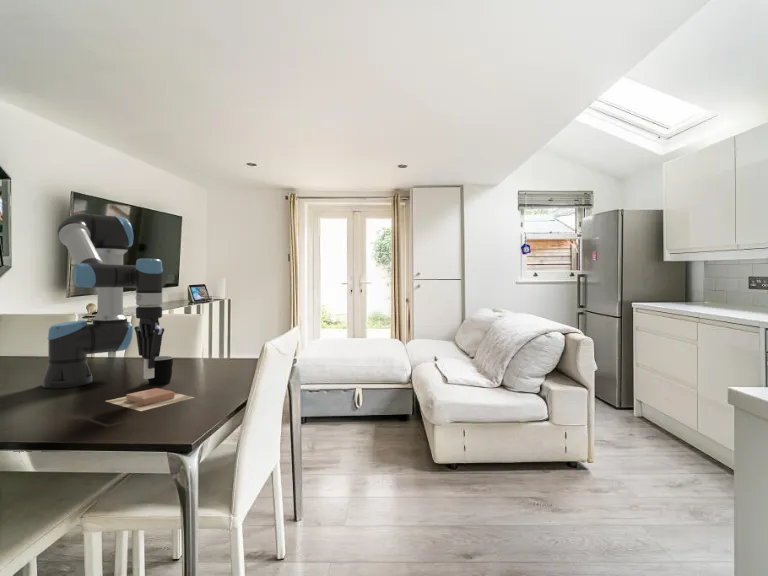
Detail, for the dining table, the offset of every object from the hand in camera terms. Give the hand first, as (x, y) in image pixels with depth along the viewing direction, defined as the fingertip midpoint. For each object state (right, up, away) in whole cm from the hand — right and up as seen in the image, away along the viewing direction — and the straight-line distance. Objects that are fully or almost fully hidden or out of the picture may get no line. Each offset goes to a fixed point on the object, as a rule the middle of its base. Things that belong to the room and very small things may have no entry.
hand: (148, 378), depth 140 cm
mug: (-9, -7, +23) cm, 25 cm away
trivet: (+1, -7, 0) cm, 7 cm away
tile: (-3, -6, +2) cm, 7 cm away
